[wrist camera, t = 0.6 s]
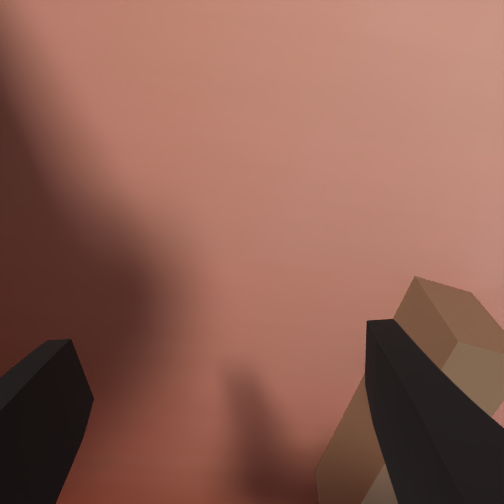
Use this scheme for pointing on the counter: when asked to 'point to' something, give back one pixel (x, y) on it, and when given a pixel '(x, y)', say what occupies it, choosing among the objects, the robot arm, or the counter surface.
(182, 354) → the counter surface
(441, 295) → the frame bar
